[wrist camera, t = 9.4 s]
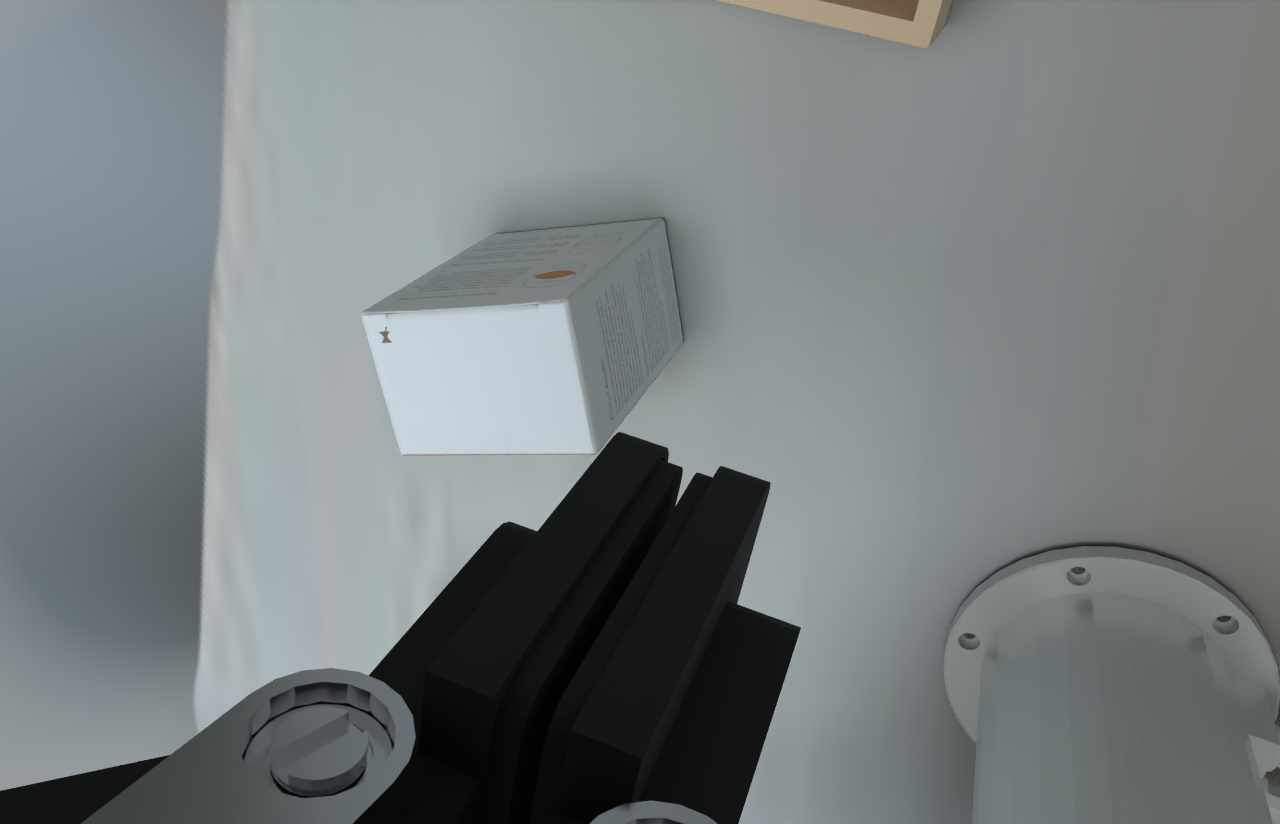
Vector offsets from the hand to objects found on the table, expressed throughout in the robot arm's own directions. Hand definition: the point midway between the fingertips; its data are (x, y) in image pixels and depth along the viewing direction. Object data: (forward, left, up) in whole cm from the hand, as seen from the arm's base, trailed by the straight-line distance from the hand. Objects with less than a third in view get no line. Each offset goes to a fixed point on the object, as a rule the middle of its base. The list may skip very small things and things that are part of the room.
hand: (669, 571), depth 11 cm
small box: (+11, +10, -29) cm, 33 cm away
